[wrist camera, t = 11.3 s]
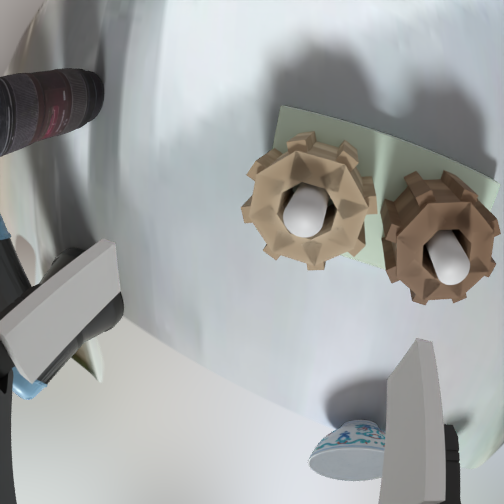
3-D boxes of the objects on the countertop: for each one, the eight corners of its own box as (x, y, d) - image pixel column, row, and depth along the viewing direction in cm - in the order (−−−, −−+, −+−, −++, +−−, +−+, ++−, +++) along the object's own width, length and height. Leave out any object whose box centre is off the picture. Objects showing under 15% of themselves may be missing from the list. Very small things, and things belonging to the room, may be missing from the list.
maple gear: (254, 220, 30) (232, 249, 25) (274, 121, 24) (252, 128, 19) (351, 250, 28) (349, 286, 23) (384, 152, 23) (394, 168, 18)
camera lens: (111, 123, 31) (3, 158, 18) (69, 130, 33) (-25, 165, 20) (108, 59, 27) (-4, 69, 14) (65, 73, 29) (-33, 92, 16)
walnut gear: (381, 271, 28) (385, 310, 23) (376, 172, 24) (383, 193, 19) (471, 266, 24) (489, 303, 19) (478, 169, 20) (506, 190, 15)
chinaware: (357, 452, 48) (352, 486, 42) (300, 426, 48) (289, 462, 41) (418, 426, 40) (418, 464, 33) (360, 394, 39) (355, 439, 33)
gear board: (261, 223, 31) (225, 272, 23) (284, 105, 25) (251, 110, 17) (447, 282, 28) (468, 346, 20) (494, 179, 21) (542, 218, 13)
